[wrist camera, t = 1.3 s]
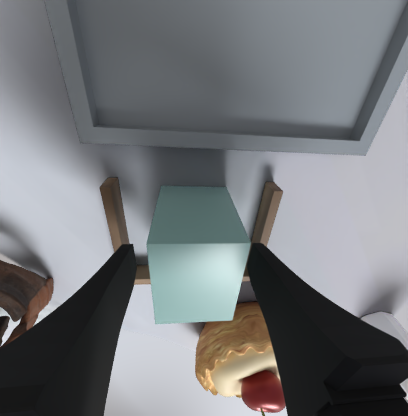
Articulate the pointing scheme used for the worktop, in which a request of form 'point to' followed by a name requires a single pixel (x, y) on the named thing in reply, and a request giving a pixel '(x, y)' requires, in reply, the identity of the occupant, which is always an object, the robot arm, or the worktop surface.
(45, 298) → the brown piece
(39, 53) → the worktop surface
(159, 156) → the worktop surface
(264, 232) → the dark bent strip
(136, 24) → the grey tray
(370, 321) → the salt shaker
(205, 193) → the teal block
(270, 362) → the pastry
